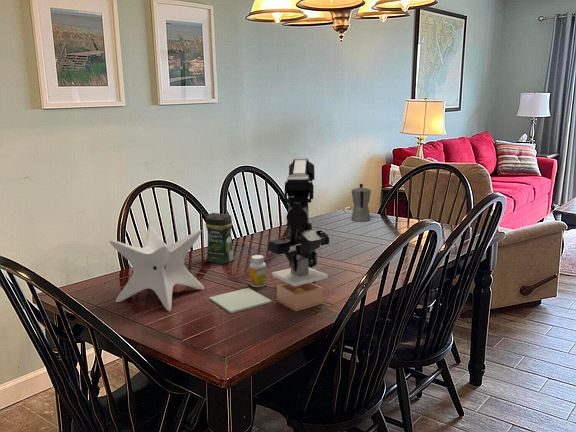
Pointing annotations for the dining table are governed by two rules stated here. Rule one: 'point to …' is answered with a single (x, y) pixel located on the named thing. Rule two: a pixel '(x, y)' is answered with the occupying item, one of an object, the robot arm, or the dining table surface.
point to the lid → (300, 273)
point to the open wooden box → (300, 296)
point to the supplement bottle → (258, 271)
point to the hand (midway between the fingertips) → (299, 270)
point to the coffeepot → (361, 204)
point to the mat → (240, 300)
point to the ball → (299, 290)
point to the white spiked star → (158, 266)
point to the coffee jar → (219, 238)
